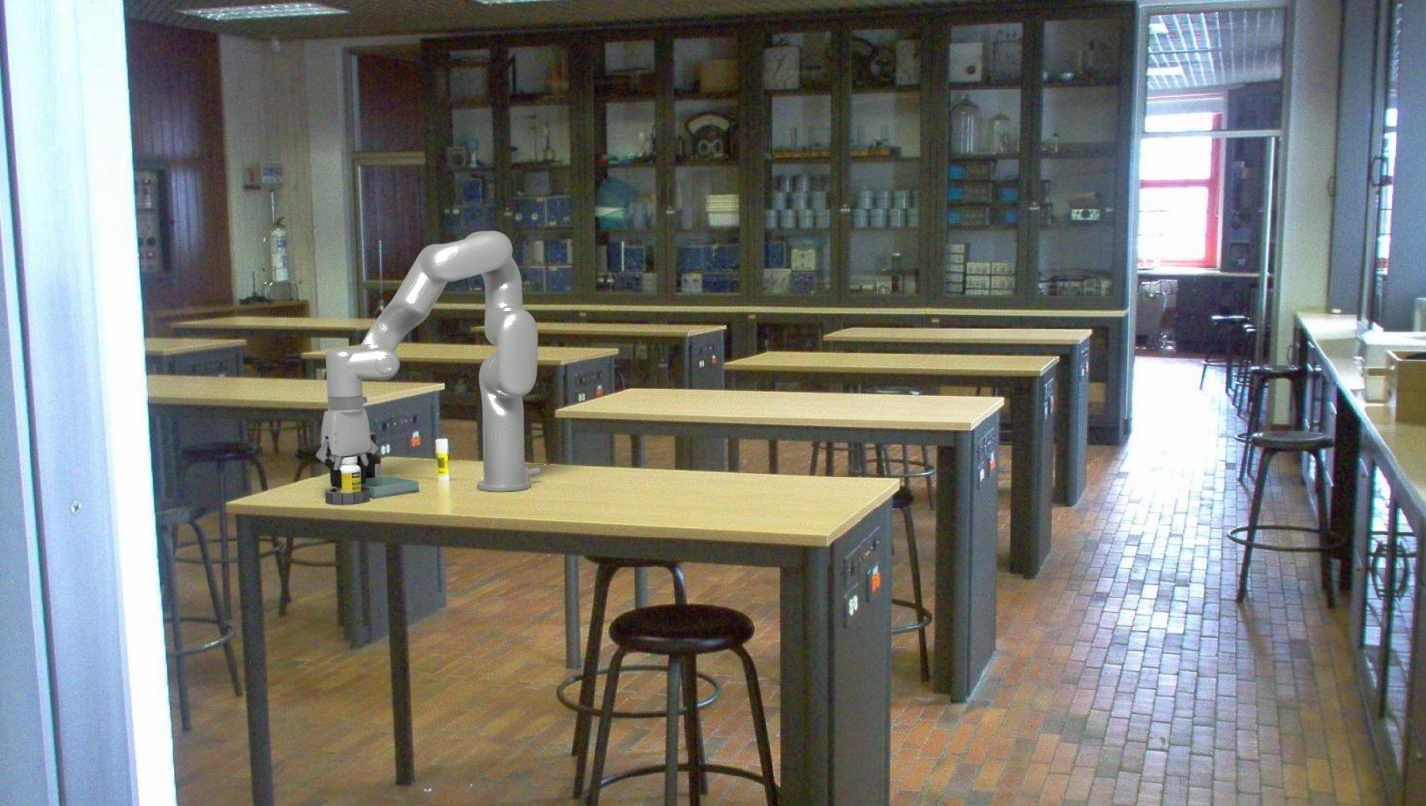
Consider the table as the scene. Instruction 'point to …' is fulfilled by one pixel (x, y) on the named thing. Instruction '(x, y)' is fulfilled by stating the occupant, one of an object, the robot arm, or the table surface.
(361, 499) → the collar
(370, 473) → the ink bottle
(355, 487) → the supplement bottle
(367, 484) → the tray
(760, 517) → the table surface
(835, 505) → the table surface
